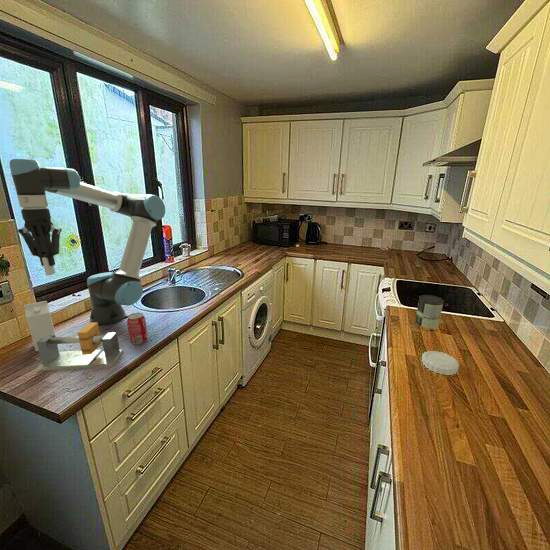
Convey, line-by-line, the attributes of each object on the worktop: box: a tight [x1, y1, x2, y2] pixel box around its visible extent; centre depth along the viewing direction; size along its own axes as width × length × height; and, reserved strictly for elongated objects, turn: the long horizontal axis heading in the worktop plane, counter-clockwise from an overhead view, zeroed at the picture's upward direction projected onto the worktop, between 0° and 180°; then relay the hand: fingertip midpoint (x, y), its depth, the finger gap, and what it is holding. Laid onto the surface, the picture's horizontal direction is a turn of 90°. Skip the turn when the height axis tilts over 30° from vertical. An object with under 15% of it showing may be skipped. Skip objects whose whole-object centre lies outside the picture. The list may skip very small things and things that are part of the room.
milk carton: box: [23, 300, 59, 352], centre depth 115 cm, size 7×7×19 cm
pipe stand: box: [37, 331, 124, 372], centre depth 106 cm, size 25×10×10 cm, turn 96°
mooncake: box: [420, 350, 460, 376], centre depth 105 cm, size 12×12×4 cm
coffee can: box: [414, 294, 445, 329], centre depth 135 cm, size 10×10×14 cm
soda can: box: [126, 312, 149, 345], centre depth 119 cm, size 7×7×12 cm
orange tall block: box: [77, 322, 103, 355], centre depth 105 cm, size 3×8×9 cm, turn 6°
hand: (50, 274), depth 104 cm, fingers closed
